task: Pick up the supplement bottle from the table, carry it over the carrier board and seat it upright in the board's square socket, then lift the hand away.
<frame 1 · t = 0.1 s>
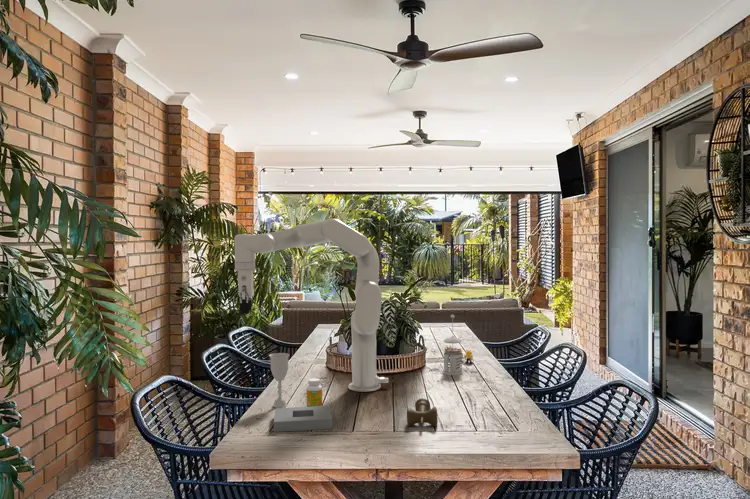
hand: (245, 311, 220), 31 cm above the table, tool pointing down, fingers open, 9 cm apart
figurine set: (459, 361, 271), on the table
chalice: (280, 406, 205), on the table
kendama: (422, 422, 186), on the table
supplement bottle: (314, 407, 202), on the table
carrier board: (303, 422, 186), on the table
french press: (452, 373, 249), on the table
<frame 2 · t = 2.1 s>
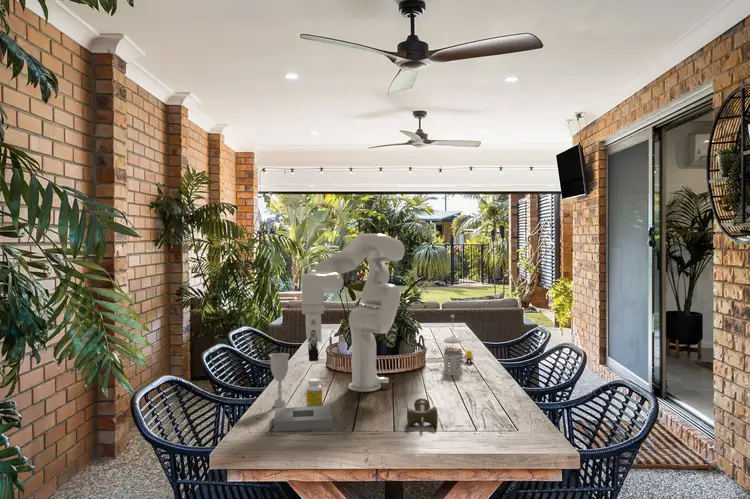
hand: (313, 358, 201), 17 cm above the table, tool pointing down, fingers open, 9 cm apart
nothing on the table moved.
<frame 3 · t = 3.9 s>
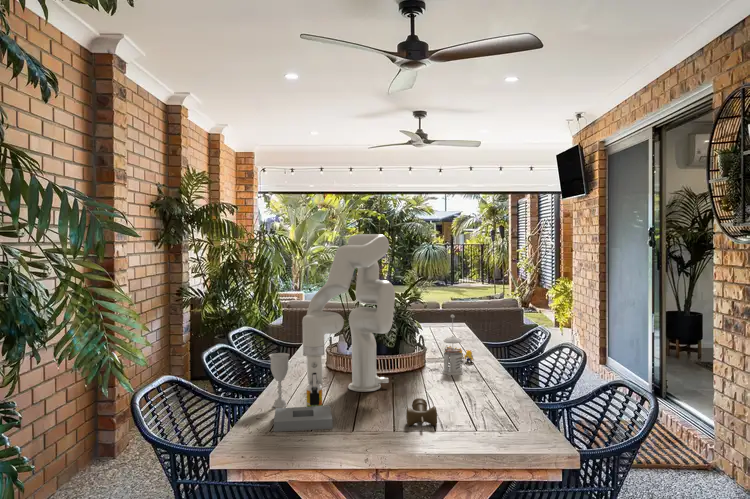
hand: (314, 401, 202), 2 cm above the table, tool pointing down, fingers closed on supplement bottle, 5 cm apart
supplement bottle: (314, 407, 202), on the table, touching gripper
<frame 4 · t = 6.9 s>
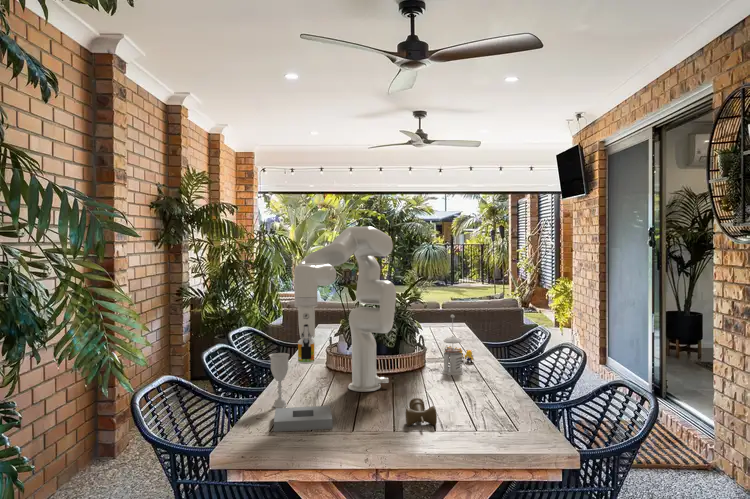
hand: (306, 356, 191), 20 cm above the table, tool pointing down, fingers closed on supplement bottle, 5 cm apart
supplement bottle: (306, 363, 191), point 18 cm above the table, touching gripper
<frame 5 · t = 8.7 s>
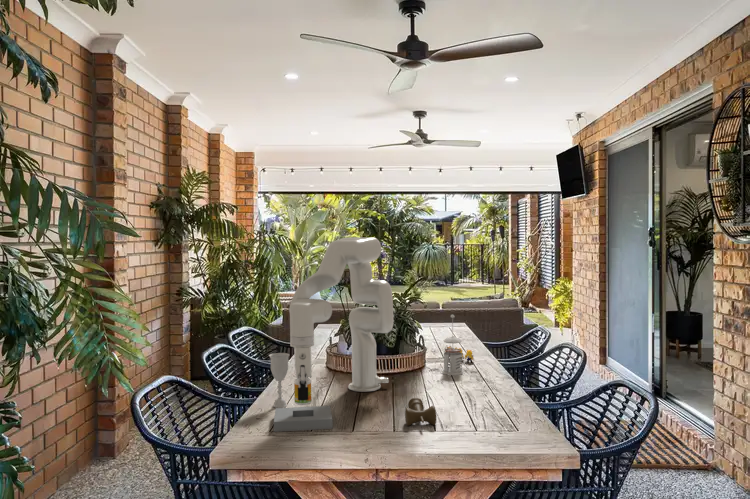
hand: (303, 396, 186), 8 cm above the table, tool pointing down, fingers closed on supplement bottle, 5 cm apart
supplement bottle: (303, 403, 186), point 6 cm above the table, touching gripper
when the fingers open (4 cm above the table, at t = 10.1 s): supplement bottle drops 2 cm, resting in carrier board.
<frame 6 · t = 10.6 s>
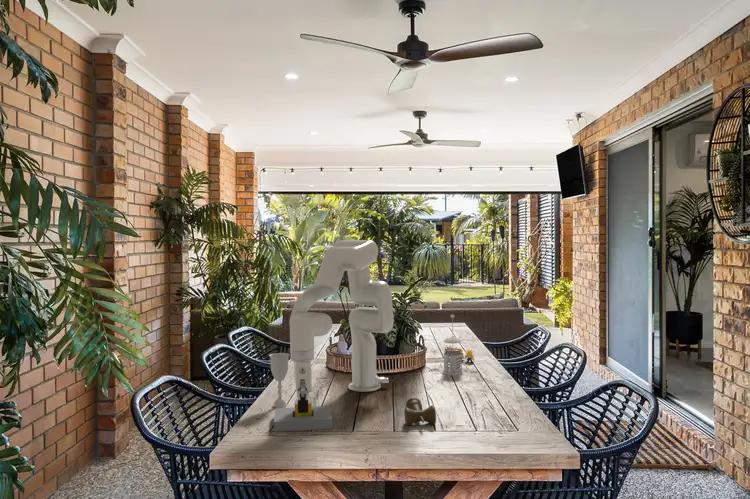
hand: (303, 407, 186), 5 cm above the table, tool pointing down, fingers open, 9 cm apart
supplement bottle: (303, 423, 186), resting in carrier board
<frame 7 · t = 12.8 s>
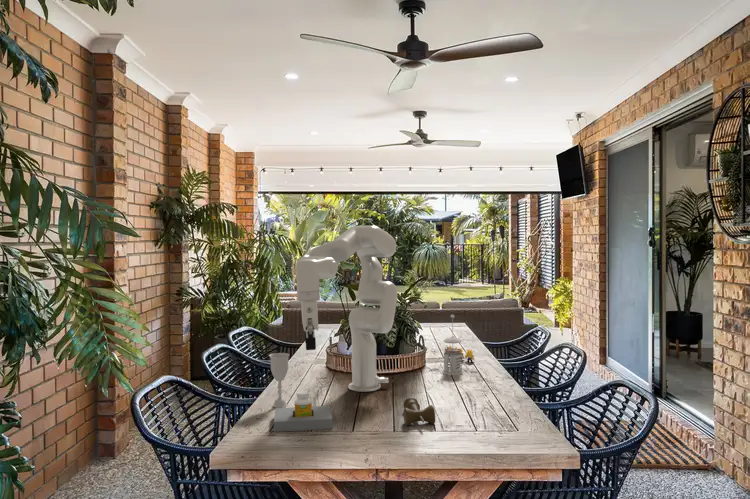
hand: (310, 346, 195), 23 cm above the table, tool pointing down, fingers open, 9 cm apart
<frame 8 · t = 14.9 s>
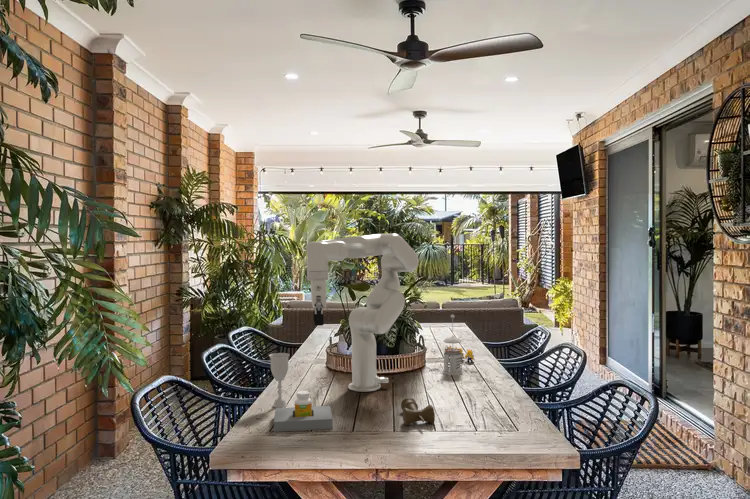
hand: (318, 323, 208), 28 cm above the table, tool pointing down, fingers open, 9 cm apart
at the end: supplement bottle 0.4 cm off-centre on the carrier board, point 0.0 cm above the carrier board's base; supplement bottle tilted 0°; the gripper is holding nothing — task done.
